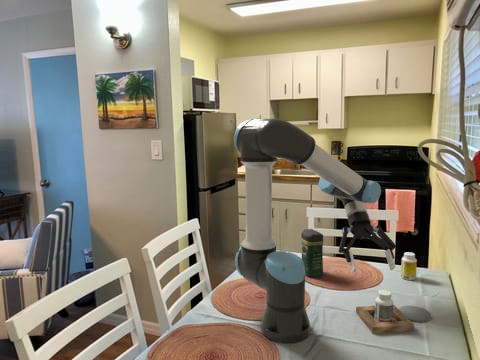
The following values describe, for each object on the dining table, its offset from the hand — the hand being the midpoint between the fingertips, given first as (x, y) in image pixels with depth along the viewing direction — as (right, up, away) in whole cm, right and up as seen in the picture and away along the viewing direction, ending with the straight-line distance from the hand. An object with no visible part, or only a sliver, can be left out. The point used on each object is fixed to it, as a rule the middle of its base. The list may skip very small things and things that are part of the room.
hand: (373, 269), depth 131 cm
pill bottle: (+1, -15, -7) cm, 17 cm away
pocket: (+1, -15, -7) cm, 17 cm away
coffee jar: (-15, -9, +32) cm, 36 cm away
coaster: (+12, -14, -3) cm, 19 cm away
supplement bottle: (+23, -9, +25) cm, 35 cm away
